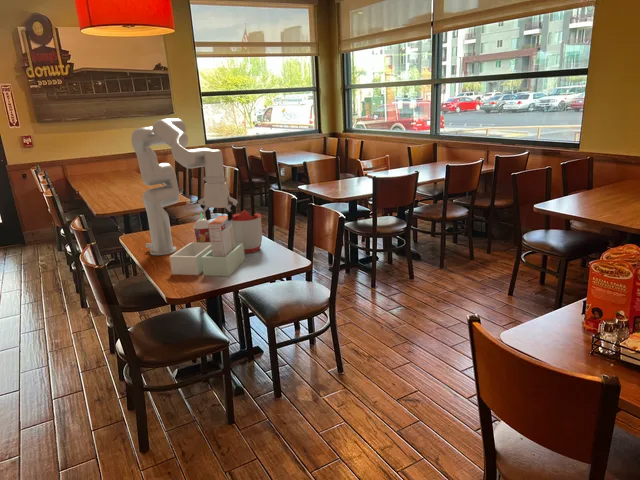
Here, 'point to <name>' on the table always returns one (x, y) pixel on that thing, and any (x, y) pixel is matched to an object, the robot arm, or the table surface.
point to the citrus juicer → (247, 230)
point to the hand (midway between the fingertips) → (219, 219)
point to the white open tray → (189, 258)
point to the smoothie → (202, 230)
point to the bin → (223, 262)
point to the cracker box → (221, 236)
